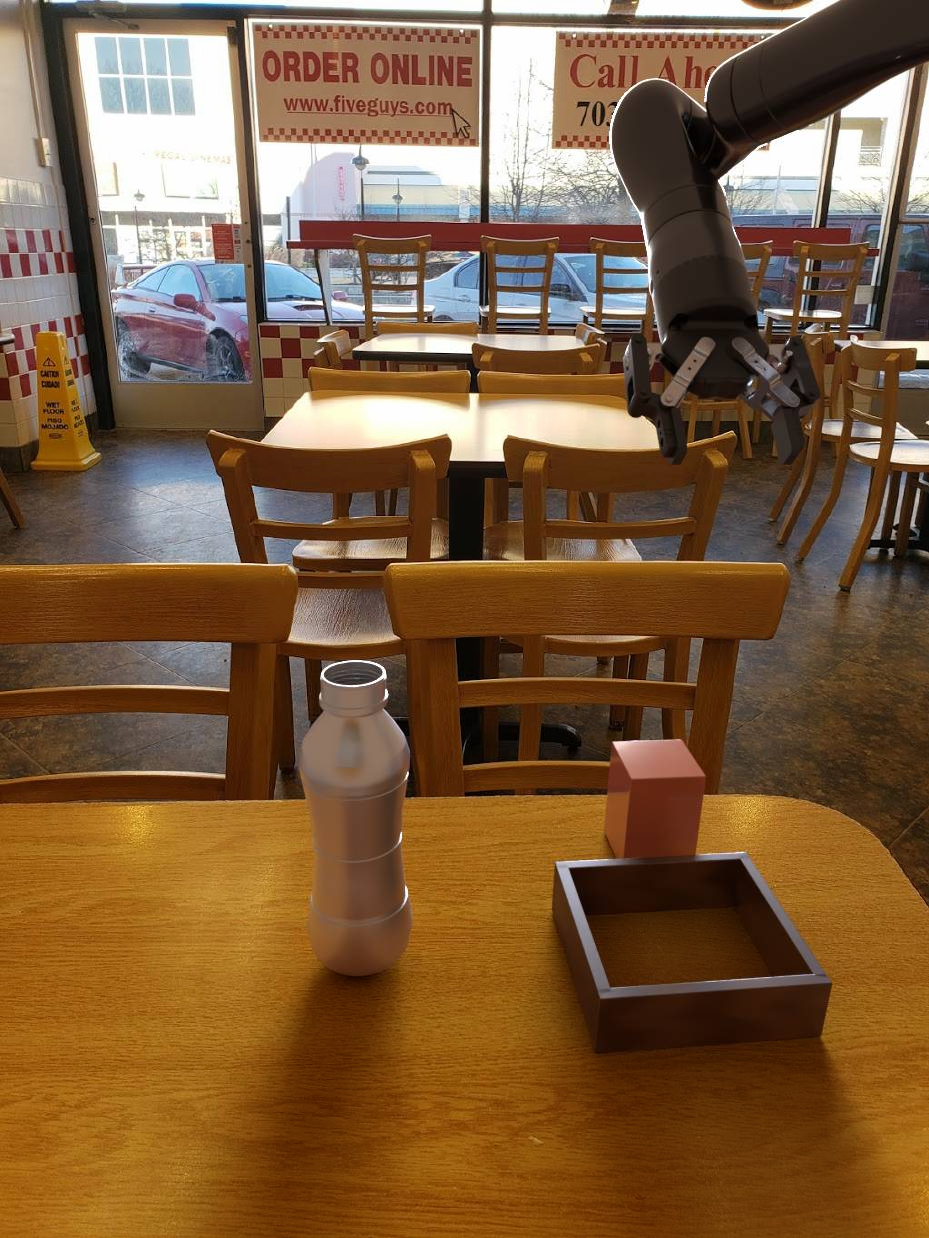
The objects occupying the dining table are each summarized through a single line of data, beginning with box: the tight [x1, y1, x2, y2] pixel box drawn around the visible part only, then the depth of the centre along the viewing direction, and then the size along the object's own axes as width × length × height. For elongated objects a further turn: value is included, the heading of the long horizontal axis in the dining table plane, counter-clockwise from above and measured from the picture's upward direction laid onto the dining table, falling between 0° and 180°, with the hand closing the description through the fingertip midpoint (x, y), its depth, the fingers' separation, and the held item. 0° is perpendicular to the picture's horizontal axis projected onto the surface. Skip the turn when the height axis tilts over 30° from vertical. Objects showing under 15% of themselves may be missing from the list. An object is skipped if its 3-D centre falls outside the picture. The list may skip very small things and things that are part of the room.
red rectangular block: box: [603, 739, 707, 859], centre depth 71 cm, size 6×6×8 cm
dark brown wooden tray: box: [551, 851, 833, 1054], centre depth 59 cm, size 14×13×4 cm
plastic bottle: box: [297, 660, 414, 977], centre depth 57 cm, size 6×7×20 cm
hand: (735, 459), depth 69 cm, fingers open, 8 cm apart
